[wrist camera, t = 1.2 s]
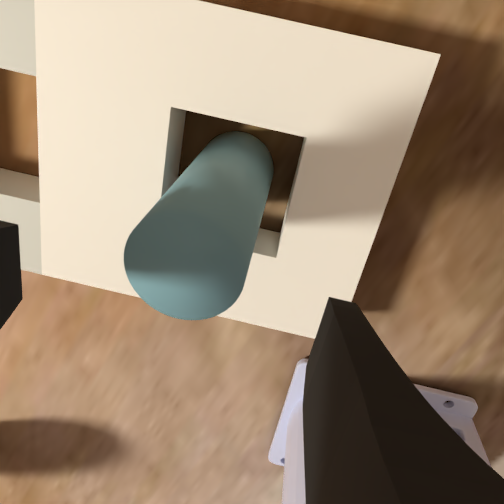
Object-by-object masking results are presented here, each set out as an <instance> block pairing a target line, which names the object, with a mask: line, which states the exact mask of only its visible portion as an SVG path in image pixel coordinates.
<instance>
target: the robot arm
mask: <svg viewBox="0 0 504 504" xmlns="http://www.w3.org/2000/svg"><path fill="white" fill-rule="evenodd" d="M21 300H22V281H21V263H20V245H19V226H18V224H14V223H10V222H5V221H1V220H0V329H1V328H2V326H3V325H4V324H5V322H6V321H7V320H8V318H9V317H10V316H11V314H12V313H13V311H14V310H15V309H16V307H17V306H18V304H19V303H20V301H21ZM445 401H450V402H448V403H447V402H445ZM477 410H478V406H477V403H476V401H475V400H474V399H473V398H471V397H468V396H464V395H459V394H455V393H451V392H447V391H442V390H438V389H434V388H430V387H425V386H421V385H417V384H413V383H412V382H411V381H410V379H409V378H408V377H407V375H406V374H405V373H404V371H403V370H402V369H401V368H400V366H399V365H398V363H397V362H396V361H395V359H394V358H393V357H392V355H391V354H390V352H389V351H388V350H387V348H386V347H385V345H384V344H383V342H382V341H381V340H380V338H379V337H378V335H377V334H376V332H375V331H374V329H373V328H372V326H371V325H370V323H369V322H368V320H367V319H366V317H365V316H364V314H363V313H362V311H361V310H360V308H359V307H358V305H357V304H356V303H353V302H349V301H345V300H340V299H336V298H332V297H329V298H328V301H327V304H326V307H325V310H324V313H323V316H322V319H321V322H320V325H319V329H318V332H317V335H316V338H315V341H314V344H313V347H312V350H311V353H310V356H309V359H301V360H300V361H298V363H297V365H296V368H295V372H294V375H293V378H292V381H291V384H290V387H289V390H288V394H287V397H286V400H285V403H284V406H283V409H282V412H281V416H280V419H279V422H278V425H277V428H276V431H275V434H274V438H273V441H272V444H271V447H270V450H269V456H268V459H269V461H270V462H272V463H274V464H277V465H281V466H284V479H283V494H282V504H504V479H503V478H502V477H501V476H500V475H499V474H498V473H497V472H496V471H495V470H493V469H492V467H491V465H490V462H489V460H488V457H487V455H486V452H485V450H484V447H483V445H482V442H481V440H480V437H479V435H478V432H477V430H476V427H475V425H474V422H473V420H472V418H473V417H474V415H475V413H476V412H477Z"/></svg>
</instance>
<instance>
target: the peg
mask: <svg viewBox="0 0 504 504" xmlns="http://www.w3.org/2000/svg"><path fill="white" fill-rule="evenodd" d="M273 173H274V166H273V160H272V157H271V154H270V152H269V150H268V149H267V147H266V146H265V145H264V144H263V143H262V142H261V141H260V140H259V139H258V138H256V137H255V136H253V135H251V134H248V133H245V132H240V131H231V132H226V133H223V134H220V135H218V136H217V137H215V138H214V139H212V140H211V141H210V142H209V143H208V145H207V146H206V147H205V148H204V149H203V150H202V151H201V153H200V154H199V155H198V156H197V157H196V158H195V159H194V161H193V162H192V163H191V164H190V165H189V166H188V167H187V169H186V170H185V171H184V172H183V173H182V174H181V175H180V177H179V178H178V179H177V180H176V181H175V182H174V183H173V185H172V186H171V187H170V188H169V189H168V190H167V191H166V193H165V194H164V195H163V196H162V197H161V198H160V199H159V201H158V202H157V203H156V204H155V205H154V206H153V207H152V209H151V210H150V211H149V212H148V213H147V214H146V215H145V217H144V218H143V219H142V220H141V221H140V222H139V223H138V225H137V226H136V227H135V228H134V229H133V231H132V232H131V234H130V235H129V237H128V239H127V242H126V245H125V249H124V267H125V271H126V275H127V277H128V280H129V282H130V284H131V285H132V287H133V289H134V290H135V291H136V293H137V294H138V295H139V296H140V297H141V298H142V299H143V300H144V301H145V302H146V303H147V304H148V305H150V306H151V307H153V308H154V309H155V310H157V311H159V312H161V313H163V314H166V315H168V316H171V317H174V318H178V319H184V320H202V319H207V318H211V317H214V316H216V315H219V314H221V313H222V312H224V311H226V310H227V309H228V308H230V307H231V306H232V305H233V304H234V303H235V302H236V300H237V299H238V297H239V296H240V294H241V292H242V290H243V287H244V284H245V280H246V276H247V273H248V269H249V265H250V261H251V258H252V254H253V250H254V246H255V242H256V239H257V235H258V231H259V227H260V224H261V220H262V216H263V212H264V208H265V205H266V201H267V197H268V193H269V190H270V186H271V182H272V178H273Z"/></svg>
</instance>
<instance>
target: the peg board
mask: <svg viewBox="0 0 504 504" xmlns="http://www.w3.org/2000/svg"><path fill="white" fill-rule="evenodd" d="M440 56H441V54H437V53H433V52H429V51H425V50H420V49H416V48H411V47H407V46H402V45H398V44H393V43H389V42H384V41H380V40H375V39H371V38H366V37H362V36H357V35H353V34H348V33H344V32H339V31H335V30H331V29H326V28H322V27H317V26H313V25H308V24H304V23H299V22H295V21H290V20H286V19H281V18H277V17H272V16H268V15H263V14H259V13H254V12H250V11H245V10H241V9H236V8H232V7H227V6H223V5H218V4H214V3H209V2H205V1H200V0H0V68H2V69H7V70H11V71H16V72H20V73H24V74H29V75H33V76H36V81H37V117H38V154H39V177H37V176H33V175H28V174H24V173H20V172H15V171H11V170H7V169H2V168H0V220H1V221H5V222H10V223H14V224H18V226H19V245H20V263H21V270H25V271H29V272H34V273H38V274H42V275H46V276H51V277H55V278H59V279H63V280H68V281H72V282H76V283H80V284H85V285H89V286H93V287H97V288H102V289H106V290H110V291H114V292H118V293H123V294H127V295H131V296H135V297H140V296H139V295H138V294H137V293H136V291H135V290H134V289H133V287H132V285H131V284H130V282H129V280H128V277H127V275H126V271H125V267H124V249H125V245H126V242H127V239H128V237H129V235H130V234H131V232H132V231H133V229H134V228H135V227H136V226H137V225H138V223H139V222H140V221H141V220H142V219H143V218H144V217H145V215H146V214H147V213H148V212H149V211H150V210H151V209H152V207H153V206H154V205H155V204H156V203H157V202H158V201H159V199H160V198H161V197H162V196H163V195H164V194H165V193H166V191H167V190H168V189H169V188H170V187H171V186H172V185H173V183H174V182H175V181H176V180H177V179H178V173H179V165H180V157H181V149H182V141H183V133H184V125H185V117H186V110H187V111H191V112H196V113H200V114H205V115H209V116H213V117H218V118H222V119H227V120H231V121H235V122H240V123H244V124H249V125H253V126H257V127H262V128H266V129H271V130H275V131H279V132H284V133H288V134H293V135H297V136H301V137H304V140H303V144H302V148H301V152H300V156H299V160H298V164H297V168H296V172H295V176H294V180H293V184H292V188H291V192H290V196H289V200H288V204H287V208H286V212H285V216H284V220H283V224H282V228H281V232H280V233H279V232H275V231H270V230H266V229H262V228H259V231H258V235H257V239H256V242H255V246H254V250H253V254H252V258H251V261H250V265H249V269H248V273H247V276H246V280H245V284H244V287H243V290H242V292H241V294H240V296H239V297H238V299H237V300H236V302H235V303H234V304H233V305H232V306H231V307H230V308H228V309H227V310H226V311H224V312H222V313H221V314H219V315H216V316H220V317H225V318H229V319H233V320H237V321H242V322H246V323H250V324H254V325H259V326H263V327H267V328H271V329H276V330H280V331H284V332H288V333H293V334H297V335H301V336H305V337H310V338H314V339H315V338H316V335H317V332H318V329H319V325H320V322H321V319H322V316H323V313H324V310H325V307H326V304H327V301H328V298H329V297H332V298H336V299H340V300H345V301H349V302H351V301H352V299H353V296H354V293H355V290H356V288H357V285H358V282H359V279H360V277H361V274H362V271H363V268H364V266H365V263H366V260H367V257H368V255H369V252H370V249H371V246H372V244H373V241H374V238H375V235H376V232H377V230H378V227H379V224H380V221H381V219H382V216H383V213H384V210H385V208H386V205H387V202H388V199H389V197H390V194H391V191H392V188H393V186H394V183H395V180H396V177H397V174H398V172H399V169H400V166H401V163H402V161H403V158H404V155H405V152H406V150H407V147H408V144H409V141H410V139H411V136H412V133H413V130H414V128H415V125H416V122H417V119H418V117H419V114H420V111H421V108H422V105H423V103H424V100H425V97H426V94H427V92H428V89H429V86H430V83H431V81H432V78H433V75H434V72H435V70H436V67H437V64H438V61H439V59H440ZM140 298H141V297H140Z"/></svg>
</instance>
